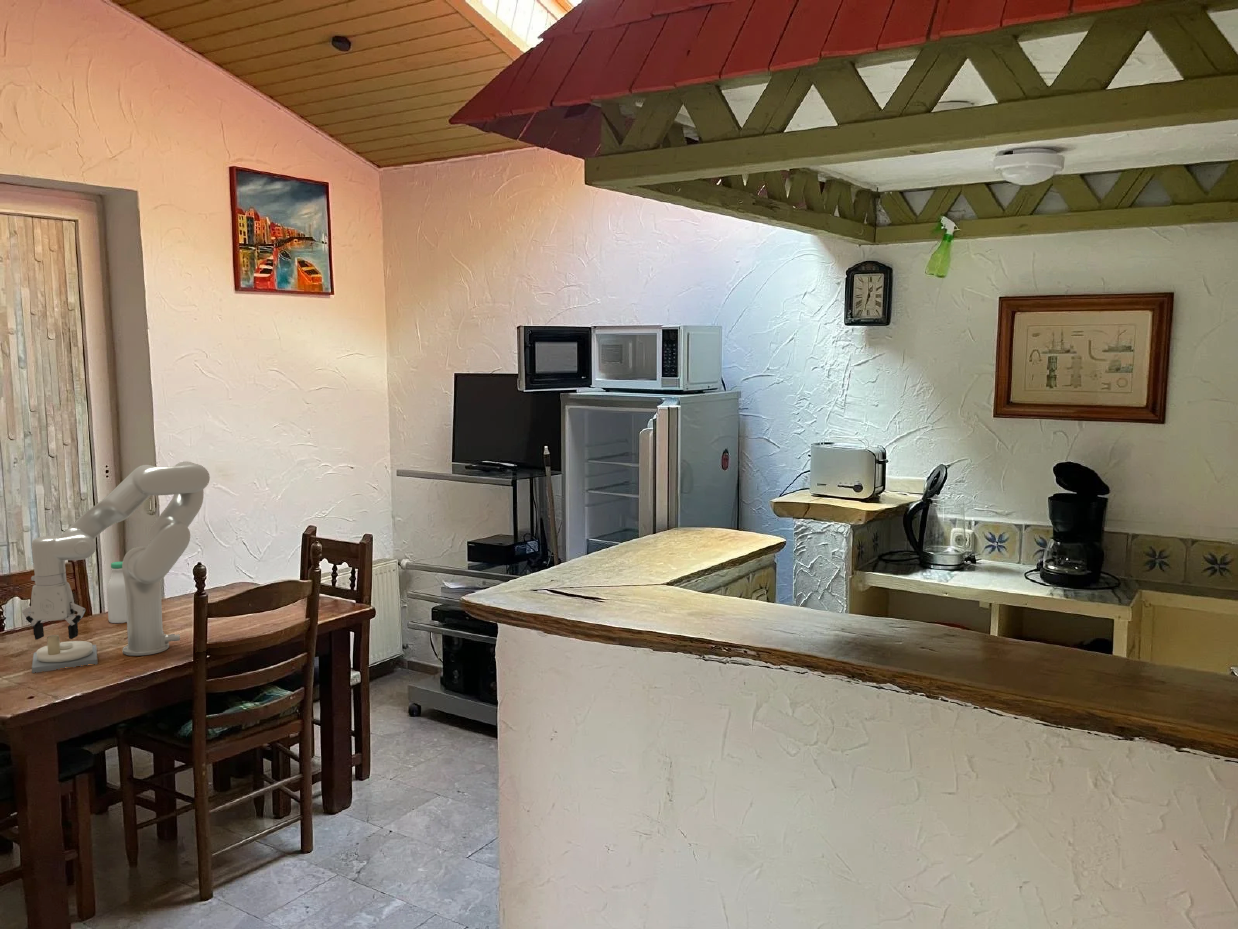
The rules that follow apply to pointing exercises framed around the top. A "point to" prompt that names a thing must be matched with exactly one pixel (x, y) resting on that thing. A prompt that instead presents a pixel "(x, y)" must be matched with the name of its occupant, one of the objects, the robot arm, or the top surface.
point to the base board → (48, 666)
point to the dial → (63, 650)
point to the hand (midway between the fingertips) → (56, 637)
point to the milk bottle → (116, 595)
